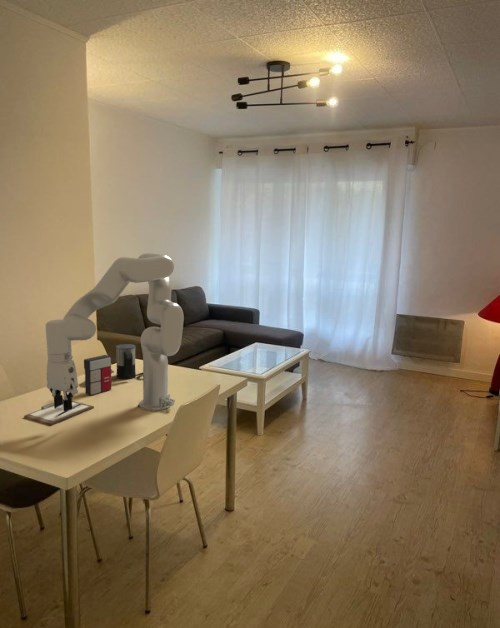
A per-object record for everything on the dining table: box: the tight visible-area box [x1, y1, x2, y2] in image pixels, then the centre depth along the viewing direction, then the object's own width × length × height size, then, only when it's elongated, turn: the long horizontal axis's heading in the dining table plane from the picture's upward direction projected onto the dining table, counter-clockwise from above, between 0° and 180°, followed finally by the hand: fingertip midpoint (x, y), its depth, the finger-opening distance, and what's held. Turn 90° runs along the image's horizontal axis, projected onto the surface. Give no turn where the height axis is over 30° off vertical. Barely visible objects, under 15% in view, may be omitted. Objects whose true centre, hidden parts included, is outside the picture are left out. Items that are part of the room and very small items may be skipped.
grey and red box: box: [83, 354, 112, 396], centre depth 202 cm, size 11×4×15 cm, turn 143°
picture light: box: [54, 401, 84, 418], centre depth 163 cm, size 14×4×2 cm, turn 160°
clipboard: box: [23, 400, 95, 426], centre depth 179 cm, size 14×20×2 cm
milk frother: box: [115, 343, 143, 380], centre depth 226 cm, size 14×16×15 cm
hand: (63, 408), depth 163 cm, fingers closed on picture light, 3 cm apart
